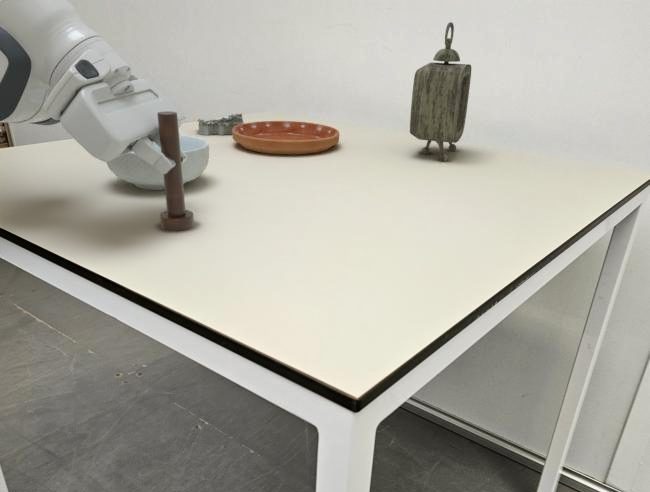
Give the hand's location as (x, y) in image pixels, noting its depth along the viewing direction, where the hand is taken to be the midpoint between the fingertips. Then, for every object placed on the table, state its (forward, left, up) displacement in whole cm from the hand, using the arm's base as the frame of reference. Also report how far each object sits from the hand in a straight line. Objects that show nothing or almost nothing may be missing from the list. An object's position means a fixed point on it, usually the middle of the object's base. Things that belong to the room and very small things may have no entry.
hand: (176, 166), depth 78 cm
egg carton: (+37, +57, -9) cm, 69 cm away
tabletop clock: (+64, +14, -9) cm, 66 cm away
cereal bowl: (+7, +22, -9) cm, 25 cm away
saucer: (+42, +37, -9) cm, 57 cm away
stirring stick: (0, 0, -8) cm, 8 cm away
